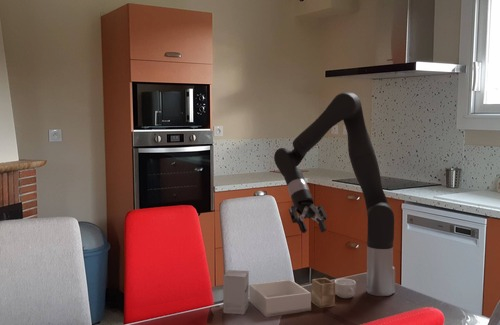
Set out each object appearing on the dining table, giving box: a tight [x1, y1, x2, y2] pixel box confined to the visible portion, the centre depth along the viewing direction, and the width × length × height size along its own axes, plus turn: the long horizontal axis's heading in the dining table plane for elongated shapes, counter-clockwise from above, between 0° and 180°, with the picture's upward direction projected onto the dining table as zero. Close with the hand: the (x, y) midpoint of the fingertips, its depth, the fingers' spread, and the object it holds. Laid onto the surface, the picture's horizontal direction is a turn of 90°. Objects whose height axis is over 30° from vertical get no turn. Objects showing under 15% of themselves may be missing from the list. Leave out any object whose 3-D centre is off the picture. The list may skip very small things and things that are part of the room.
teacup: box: [333, 278, 357, 299], centre depth 180 cm, size 10×8×5 cm
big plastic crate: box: [249, 279, 312, 318], centre depth 172 cm, size 16×16×6 cm
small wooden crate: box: [311, 277, 336, 309], centre depth 174 cm, size 6×6×8 cm
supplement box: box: [222, 269, 250, 315], centre depth 168 cm, size 7×7×13 cm
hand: (314, 231), depth 180 cm, fingers open, 8 cm apart
